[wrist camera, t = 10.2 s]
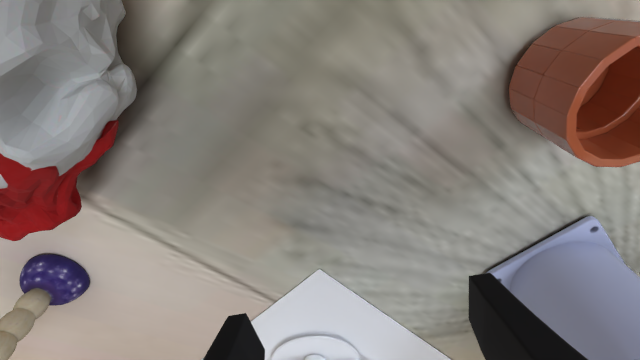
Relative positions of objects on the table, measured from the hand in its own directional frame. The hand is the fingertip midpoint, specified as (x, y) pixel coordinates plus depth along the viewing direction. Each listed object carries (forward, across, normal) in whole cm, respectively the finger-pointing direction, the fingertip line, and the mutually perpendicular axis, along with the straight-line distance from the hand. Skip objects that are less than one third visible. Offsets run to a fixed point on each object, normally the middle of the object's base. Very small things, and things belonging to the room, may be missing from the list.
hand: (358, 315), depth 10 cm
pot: (+10, -12, -3) cm, 16 cm away
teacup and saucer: (+11, +6, +22) cm, 25 cm away
